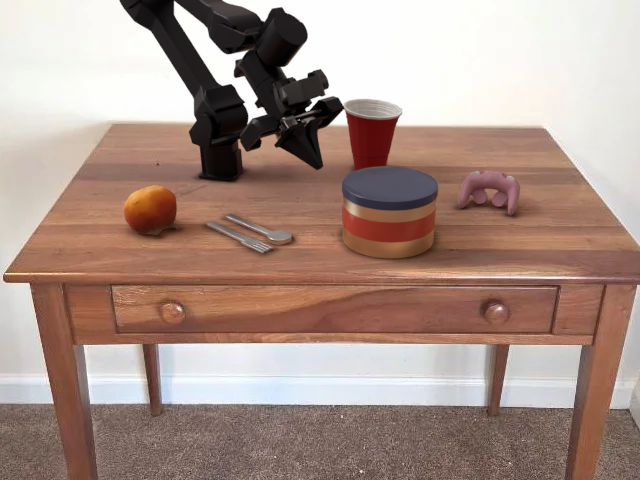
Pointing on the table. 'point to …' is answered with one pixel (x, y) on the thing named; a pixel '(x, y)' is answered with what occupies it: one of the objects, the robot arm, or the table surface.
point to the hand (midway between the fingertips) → (320, 168)
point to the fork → (241, 238)
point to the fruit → (151, 210)
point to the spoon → (263, 231)
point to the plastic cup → (371, 130)
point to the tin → (389, 211)
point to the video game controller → (490, 180)
